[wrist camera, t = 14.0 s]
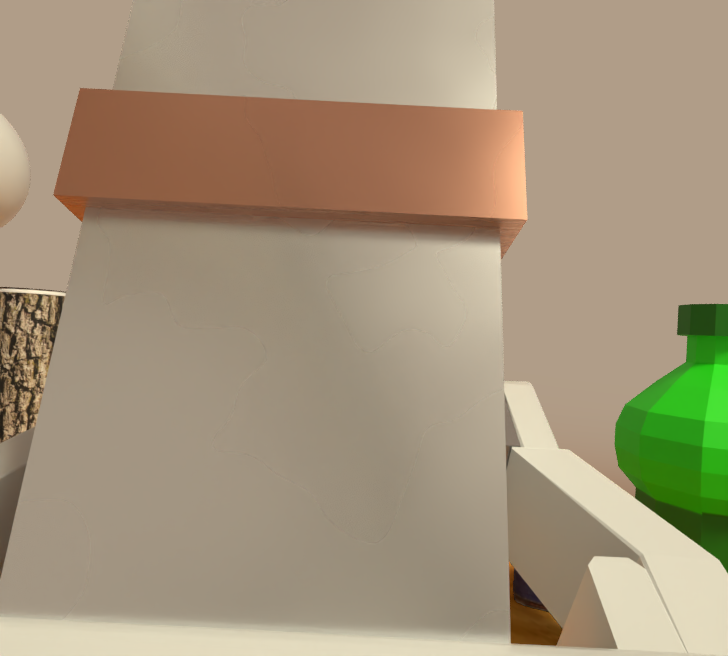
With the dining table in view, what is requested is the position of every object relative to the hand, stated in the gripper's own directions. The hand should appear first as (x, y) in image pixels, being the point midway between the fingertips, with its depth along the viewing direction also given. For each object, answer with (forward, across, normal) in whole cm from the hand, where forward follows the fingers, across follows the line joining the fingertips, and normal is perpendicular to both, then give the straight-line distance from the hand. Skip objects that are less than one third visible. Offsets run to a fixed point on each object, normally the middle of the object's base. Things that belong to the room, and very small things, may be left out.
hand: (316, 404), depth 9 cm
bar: (-8, 0, +1) cm, 8 cm away
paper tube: (+31, +38, +43) cm, 65 cm away
